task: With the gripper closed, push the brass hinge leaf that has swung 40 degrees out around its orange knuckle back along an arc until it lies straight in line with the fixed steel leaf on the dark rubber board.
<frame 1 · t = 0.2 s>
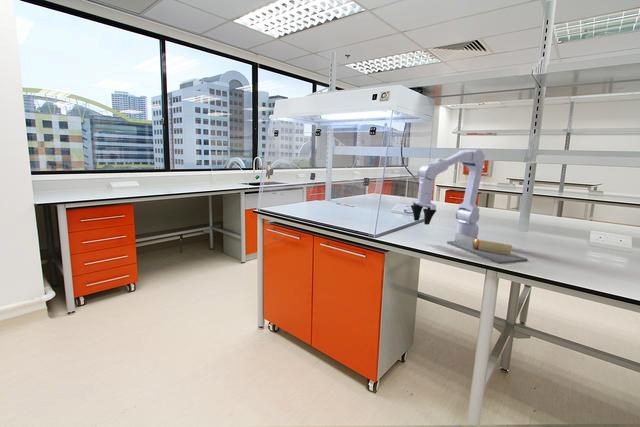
hand: (421, 222, 144), 10 cm above the table, tool pointing down, fingers open, 7 cm apart
swing leaf: (492, 246, 135), point 3 cm above the table, hinge at 40.0°
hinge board: (484, 251, 139), on the table
fixed leaf: (463, 246, 144), resting on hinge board
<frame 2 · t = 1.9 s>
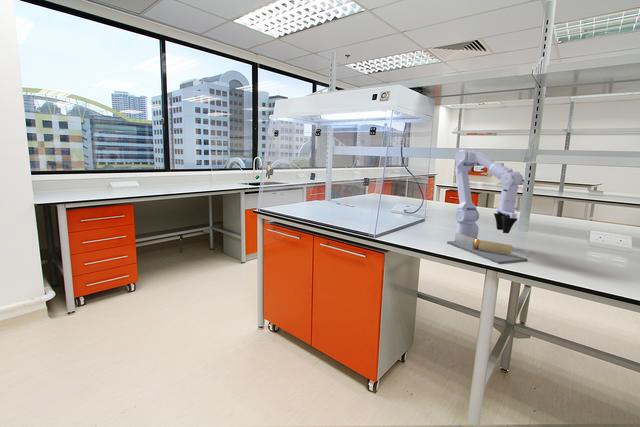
hand: (502, 231, 137), 9 cm above the table, tool pointing down, fingers open, 5 cm apart
nothing on the table moved.
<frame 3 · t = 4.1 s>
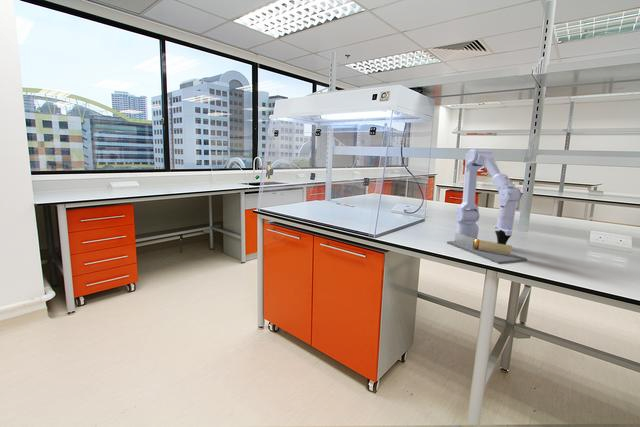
hand: (500, 248, 134), 3 cm above the table, tool pointing down, fingers closed
swing leaf: (492, 246, 134), point 3 cm above the table, hinge at 35.9°, touching gripper
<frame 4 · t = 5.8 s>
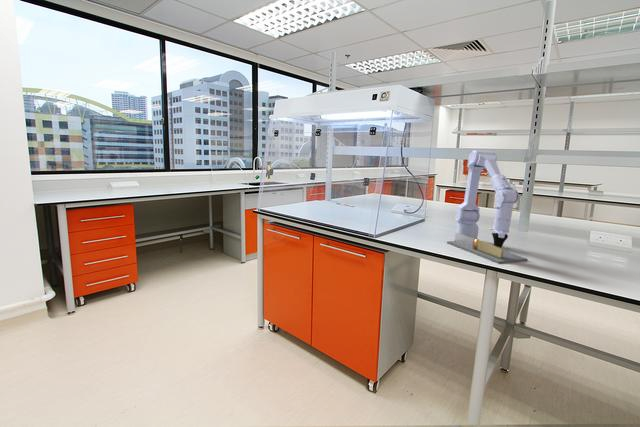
hand: (497, 250, 130), 3 cm above the table, tool pointing down, fingers closed
swing leaf: (487, 248, 132), point 3 cm above the table, hinge at -1.6°, touching gripper
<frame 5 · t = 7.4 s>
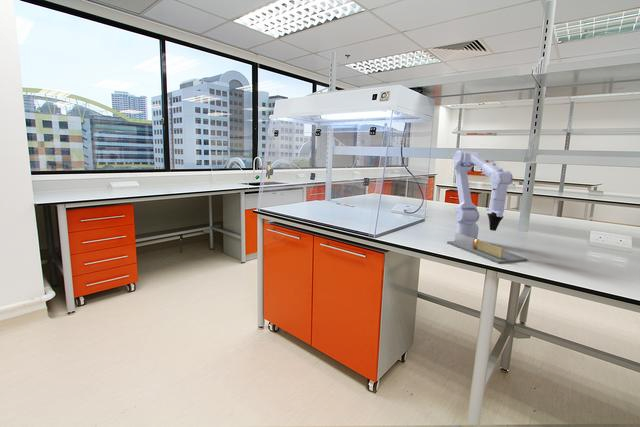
hand: (492, 230, 138), 9 cm above the table, tool pointing down, fingers closed
swing leaf: (487, 248, 132), point 3 cm above the table, hinge at -1.7°
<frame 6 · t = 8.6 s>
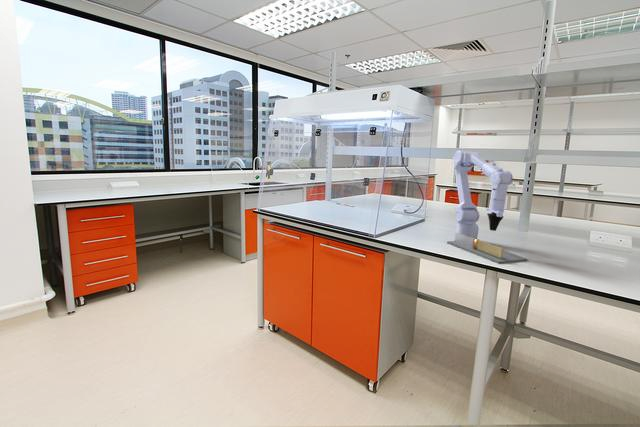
hand: (492, 230, 138), 9 cm above the table, tool pointing down, fingers closed
nothing on the table moved.
at the end: swing leaf at -2° (first picture: +40°) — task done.
